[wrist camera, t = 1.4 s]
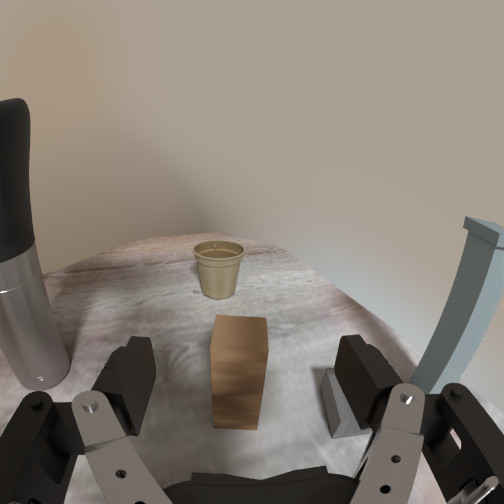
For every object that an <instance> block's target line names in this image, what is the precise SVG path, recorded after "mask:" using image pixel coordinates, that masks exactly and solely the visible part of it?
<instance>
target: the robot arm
mask: <svg viewBox="0 0 504 504" xmlns="http://www.w3.org/2000/svg"><path fill="white" fill-rule="evenodd" d="M29 152H30V113H29V109H28V106H27V104H26V102H25V101H24V100H23V99H20V98H14V99H9V100H4V101H0V346H1V348H2V350H3V352H4V354H5V356H6V358H7V360H8V362H9V364H10V366H11V368H12V370H13V371H14V373H15V375H16V377H17V378H18V380H19V382H20V383H21V384H22V385H23V386H24V387H26V388H28V389H32V390H44V389H48V388H51V387H53V386H55V385H56V384H58V383H59V382H60V381H62V380H63V378H64V377H65V376H66V374H67V373H68V371H69V367H70V359H69V356H68V354H67V351H66V349H65V346H64V343H63V341H62V338H61V335H60V332H59V329H58V327H57V324H56V321H55V318H54V315H53V311H52V308H51V305H50V302H49V298H48V295H47V291H46V288H45V284H44V280H43V276H42V272H41V268H40V263H39V259H38V254H37V249H36V244H35V237H34V231H33V224H32V214H31V203H30V191H29V154H30V153H29ZM335 376H336V379H337V381H338V383H339V385H340V387H341V389H342V391H343V393H344V395H345V398H346V400H347V402H348V404H349V406H350V408H351V410H352V412H353V414H354V417H355V419H356V421H357V423H358V425H359V427H360V430H364V429H368V428H371V429H372V431H373V432H372V434H371V436H370V438H369V441H368V443H367V446H366V448H365V451H364V453H363V455H362V458H361V460H360V462H359V464H358V467H357V469H356V471H355V473H354V474H353V476H352V477H349V476H345V475H340V474H332V473H328V471H327V468H326V466H320V467H314V468H307V469H300V470H293V471H290V472H287V473H284V474H281V475H277V476H274V477H271V478H267V479H263V480H257V479H250V478H244V477H239V476H233V475H228V474H210V473H192V479H191V481H184V482H180V483H176V484H173V485H171V486H168V487H166V488H164V489H161V487H160V486H159V485H158V483H157V482H156V480H155V479H154V478H153V476H152V475H151V473H150V472H149V470H148V469H147V467H146V466H145V464H144V463H143V461H142V459H141V458H140V456H139V455H138V453H137V451H136V450H135V448H134V446H133V445H132V443H131V441H130V439H129V438H128V436H129V435H133V436H138V435H139V432H140V428H141V425H142V422H143V418H144V415H145V411H146V408H147V405H148V402H149V398H150V395H151V392H152V389H153V386H154V382H155V379H156V365H155V360H154V355H153V349H152V344H151V340H150V338H149V337H138V336H132V337H131V338H130V340H129V342H128V343H127V345H126V347H121V346H120V347H119V348H118V349H116V350H115V351H114V352H112V354H111V355H110V357H109V359H108V362H106V364H105V366H104V369H102V371H101V373H100V375H99V376H98V378H97V380H96V382H95V384H94V385H93V387H92V389H91V390H90V391H84V392H82V393H80V394H78V395H77V396H76V397H75V398H74V399H73V401H72V402H53V400H52V398H51V396H50V395H49V394H48V393H46V392H43V391H35V392H32V393H29V394H28V395H26V396H25V397H24V398H23V400H22V401H21V403H20V405H19V406H18V408H17V410H16V411H15V413H14V415H13V416H12V418H11V420H10V421H9V423H8V425H7V426H6V428H5V430H4V432H3V434H2V435H1V437H0V504H64V500H65V496H66V493H67V489H68V486H69V482H70V479H71V476H72V473H73V469H74V466H75V463H76V460H77V457H78V455H86V458H87V460H88V462H89V465H90V467H91V469H92V472H93V474H94V476H95V478H96V480H97V483H98V485H99V487H100V489H101V491H102V493H103V495H104V497H105V499H106V500H107V502H108V504H407V503H408V500H409V497H410V493H411V490H412V487H413V483H414V480H415V476H416V472H417V468H418V464H419V459H420V455H421V451H422V453H423V455H424V457H425V459H426V461H427V463H428V465H429V467H430V469H431V471H432V473H433V475H434V477H435V479H436V481H437V483H438V485H439V487H440V489H441V492H442V494H443V496H444V498H445V500H446V503H447V504H504V435H503V433H502V432H501V430H500V429H499V428H498V426H497V425H496V424H495V422H494V421H493V420H492V419H491V417H490V416H489V415H488V413H487V412H486V411H485V409H484V408H483V407H482V406H481V404H480V403H479V402H478V401H477V399H476V398H475V397H474V396H473V394H472V393H471V392H470V391H469V390H468V389H467V388H466V387H465V386H464V385H462V384H459V383H449V384H446V385H445V386H444V387H443V389H442V391H441V393H440V394H424V392H423V391H422V390H421V389H420V388H419V387H417V386H415V385H413V384H409V383H403V381H402V380H401V379H400V377H399V376H398V375H397V373H396V372H395V371H394V369H393V368H392V367H391V365H390V364H389V363H388V361H387V360H386V359H384V356H383V355H382V353H381V352H380V351H379V350H378V349H377V348H375V347H374V346H372V345H371V344H366V343H365V341H364V340H363V338H362V337H361V336H360V335H359V334H357V335H347V336H342V337H341V339H340V343H339V348H338V352H337V357H336V361H335ZM452 429H454V431H455V432H456V434H457V435H458V437H459V439H460V440H461V450H460V449H459V447H458V445H457V444H456V442H455V440H454V439H453V437H452V436H451V434H450V432H451V430H452Z"/></svg>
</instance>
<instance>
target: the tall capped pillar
mask: <svg viewBox="0 0 504 504" xmlns="http://www.w3.org/2000/svg"><path fill="white" fill-rule="evenodd" d="M463 228H465V229H467V230H469V232H468V235H467V239H466V243H465V247H464V251H463V254H462V258H461V261H460V264H459V268H458V271H457V274H456V277H455V280H454V283H453V286H452V289H451V292H450V294H449V297H448V300H447V302H446V305H445V308H444V310H443V313H442V315H441V318H440V320H439V323H438V325H437V327H436V330H435V332H434V334H433V336H432V338H431V340H430V343H429V345H428V347H427V349H426V351H425V353H424V355H423V357H422V359H421V361H420V363H419V365H418V367H417V369H416V370H415V372H414V374H413V376H412V378H411V380H410V381H409V384H413V385H415V386H417V387H419V388H420V389H421V390H422V391H423V392H424V394H440V393H441V391H442V389H443V387H444V386H445V385H446V384H449V383H457V382H458V380H459V379H460V377H461V376H462V374H463V372H464V371H465V369H466V367H467V366H468V364H469V362H470V361H471V359H472V357H473V355H474V353H475V352H476V350H477V348H478V346H479V344H480V342H481V340H482V338H483V336H484V334H485V332H486V330H487V328H488V326H489V324H490V322H491V320H492V317H493V315H494V313H495V310H496V308H497V306H498V303H499V301H500V298H501V296H502V293H503V291H504V227H502V226H500V225H498V224H496V223H494V222H489V221H485V220H481V219H476V218H471V217H467V216H466V217H465V221H464V226H463ZM320 388H321V392H322V396H323V401H324V405H325V409H326V414H327V418H328V423H329V427H330V432H331V436H332V439H333V438H341V437H349V436H356V435H363V434H369V433H372V432H373V431H372V429H371V428H368V429H364V430H360V427H359V425H358V423H357V421H356V419H355V417H354V414H353V412H352V410H351V408H350V406H349V404H348V402H347V400H346V398H345V395H344V393H343V391H342V389H341V387H340V385H339V383H338V381H337V379H336V376H335V368H331V369H326V372H325V375H324V378H323V381H322V384H321V387H320Z"/></svg>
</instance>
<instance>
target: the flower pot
mask: <svg viewBox="0 0 504 504" xmlns="http://www.w3.org/2000/svg"><path fill="white" fill-rule="evenodd" d="M245 251H246V249H245V247H244V246H243V245H241V244H239V243H237V242H233V241H228V240H208V241H203V242H200V243H197V244H195V245H194V246H193V248H192V252H193V254H195V259H196V261H197V264H198V270H199V276H200V281H201V287H202V292H203V294H204V295H207V296H209V297H211V298H214V299H224V298H228V297H229V296H230V295H232V294H234V293H235V288H236V282H237V277H238V272H239V266H240V261H241V260H242V257H243V255H244V254H245Z"/></svg>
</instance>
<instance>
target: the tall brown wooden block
mask: <svg viewBox="0 0 504 504" xmlns="http://www.w3.org/2000/svg"><path fill="white" fill-rule="evenodd" d="M268 351H269V349H268V335H267V321H266V318H262V317H243V316H227V315H216V319H215V324H214V329H213V334H212V340H211V345H210V359H211V383H212V402H213V418H214V428H225V429H242V430H257V426H258V420H259V414H260V407H261V400H262V394H263V387H264V380H265V373H266V366H267V359H268Z"/></svg>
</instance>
